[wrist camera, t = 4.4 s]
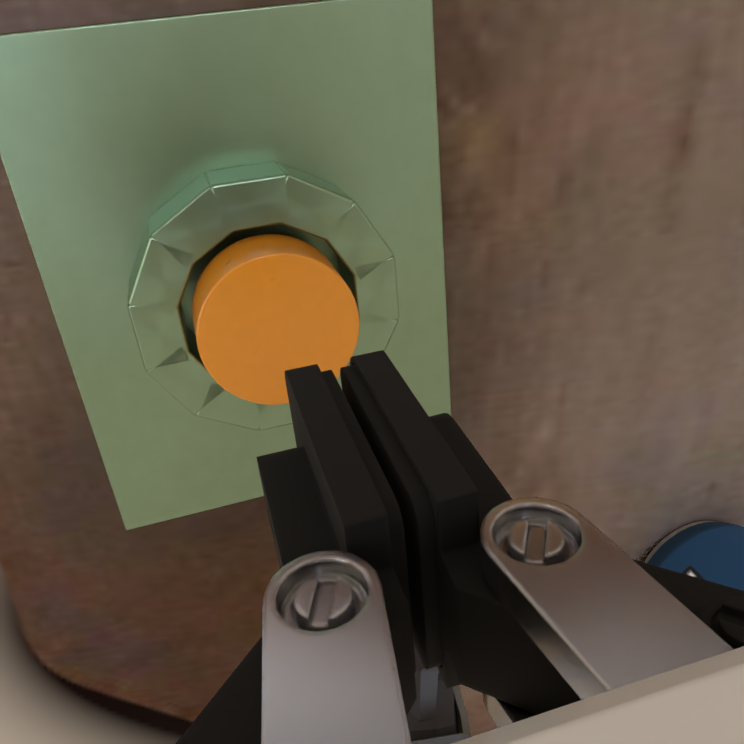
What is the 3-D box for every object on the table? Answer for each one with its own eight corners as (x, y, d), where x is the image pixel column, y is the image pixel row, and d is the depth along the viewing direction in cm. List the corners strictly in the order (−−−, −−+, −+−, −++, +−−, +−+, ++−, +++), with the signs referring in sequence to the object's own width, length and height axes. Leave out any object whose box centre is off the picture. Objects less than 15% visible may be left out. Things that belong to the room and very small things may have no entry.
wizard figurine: (421, 656, 33) (546, 943, 23) (306, 670, 31) (386, 987, 21) (457, 513, 30) (623, 773, 20) (331, 519, 28) (440, 809, 18)
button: (176, 248, 17) (179, 270, 16) (334, 221, 18) (351, 239, 16) (209, 389, 19) (214, 421, 18) (350, 359, 20) (367, 386, 18)
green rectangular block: (-12, 35, 18) (-61, 40, 14) (393, -7, 20) (460, -14, 16) (128, 474, 25) (124, 570, 20) (421, 405, 27) (474, 479, 23)
